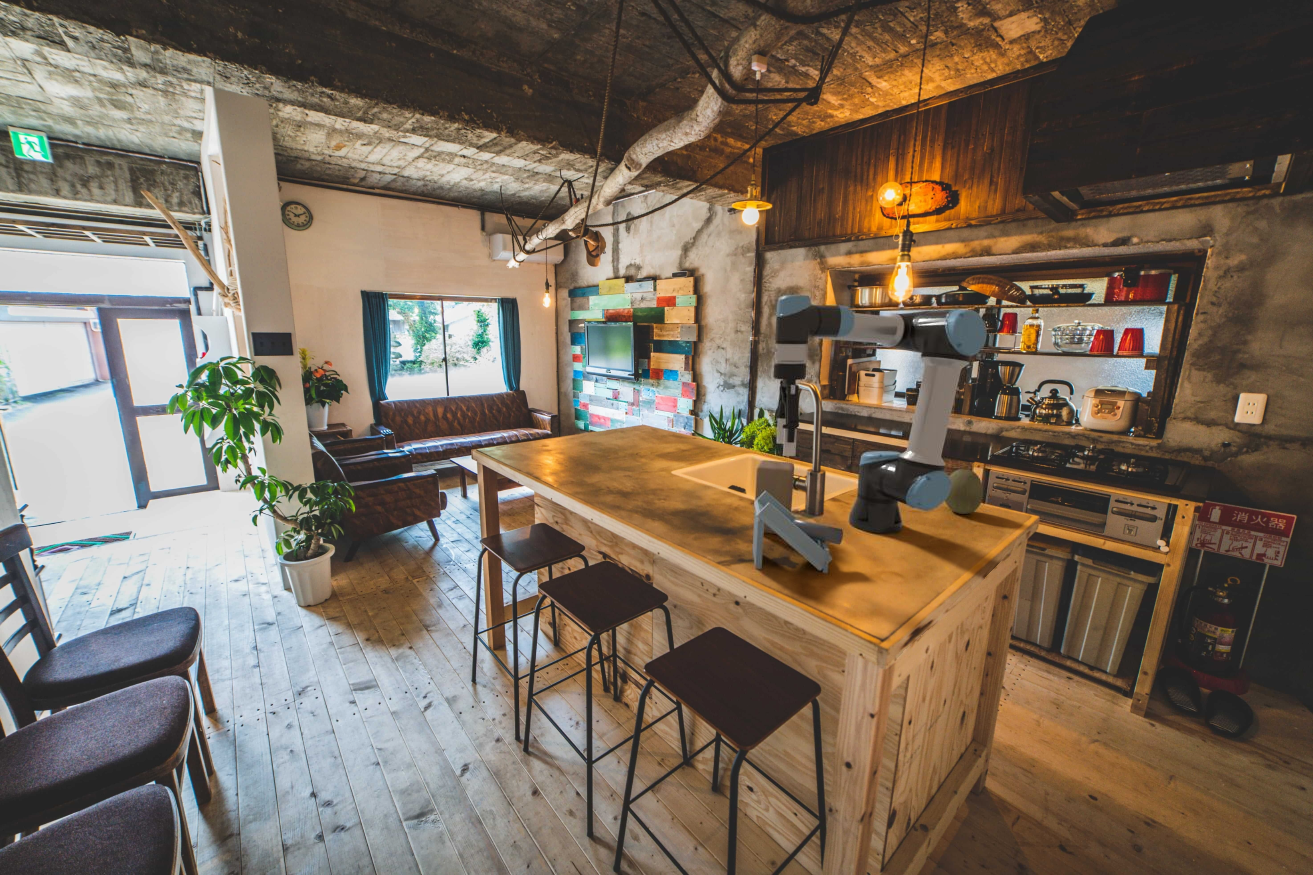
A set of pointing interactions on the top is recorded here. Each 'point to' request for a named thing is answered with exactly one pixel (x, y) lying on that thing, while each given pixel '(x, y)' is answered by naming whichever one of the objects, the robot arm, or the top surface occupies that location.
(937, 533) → the top surface
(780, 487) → the wooden block
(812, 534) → the peg
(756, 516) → the chute
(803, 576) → the top surface
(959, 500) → the fruit
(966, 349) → the robot arm
